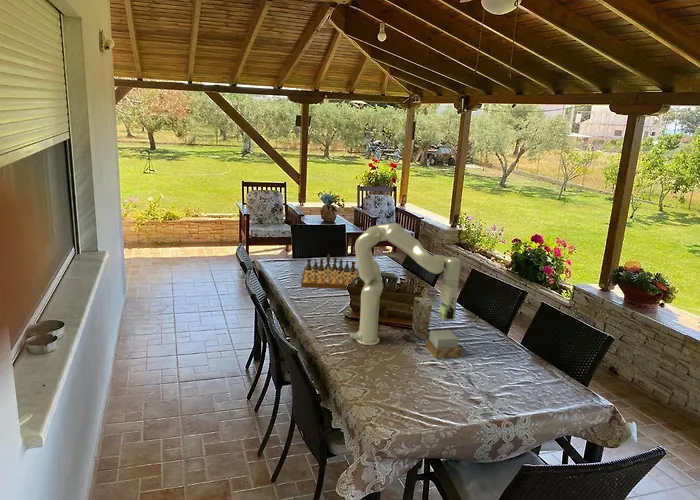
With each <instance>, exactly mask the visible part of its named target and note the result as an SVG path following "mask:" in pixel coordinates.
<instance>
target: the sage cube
mask: <svg viewBox="0 0 700 500" xmlns="http://www.w3.org/2000/svg"><path fill="white" fill-rule="evenodd" d="M450 305H452V304H450ZM451 307H452V306H450V308H451ZM456 310H457V307H456V308H455V310H454V314H453V318H452V319H447V311H448V306H446V305H445V304H443V305H441V304H439V310H438V311H439V312H438V317H440V318H441V319H442V320H443V321H453V320H456V312H457V311H456Z"/></svg>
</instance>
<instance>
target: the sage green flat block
mask: <svg viewBox="0 0 700 500" xmlns="http://www.w3.org/2000/svg"><path fill="white" fill-rule="evenodd" d="M428 339H429V340H430V341H431V342H432V344H433V345H434V346H435V347H436V348H437V349H445V348H458V345H459V341H460V340H459V339H460V338H459V337H458V336H457V335H456V334H454V333H453V332H452V331H451V329H440V330H429V336H428Z"/></svg>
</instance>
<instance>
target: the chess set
mask: <svg viewBox="0 0 700 500" xmlns="http://www.w3.org/2000/svg"><path fill="white" fill-rule="evenodd" d="M337 260H338V258H337V256H334V257H333V261H332V262H333V263H332V266H331V263H330V262H331V256H330V254H329V253H328V254H327V256H326V264H325V266H324V259H323V257H320V260H319V266H318V261H317V258H315V259H314V264H313V265H312V264H311V262H312V259H311V258H307V260H306V261H307V264H306V265H305V266H304V267H303V272H302V273H303V274H302V278H301V283H300V284H301V285H300V287H301V288H306V289H307V288H309V289H310V288H311V289H330V290H331V289H333V290H347V289H346V287H347V285H349V284H350V283H351V282H352V281H353V280H354V279H355V278H356V277H358V276H359V271H358V268H356V266H355V264H356V261H351V267H350V265H349V260H346V263H345V266H344V267H343V261H344V260H343V259H342V258H340V260H339V263H338V264H339V266H337V262H338V261H337ZM359 277H360V276H359Z"/></svg>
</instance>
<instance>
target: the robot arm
mask: <svg viewBox="0 0 700 500" xmlns="http://www.w3.org/2000/svg"><path fill="white" fill-rule="evenodd" d="M384 241H387V242H388V243H390V244H392V245H393V246H395V247H397V248H398V249H400V250H401V251H402V252H404V253H405V254H407V255H408V256H409V257H410V258H411V259H412V260H414V262H416V264H418V265H419V266H420V267H422V268H423V269H424V270H427V271H428V272H429V273H431V274H434V275H438V274H440V273H442V272H443V276H442V277H443V278H442V284H441V289H440V294H439V301H440V302H441V303H440V305H443V304H445V305H446V306H448V311H447V319H452V318H453V314H454V310H455V308H456V309H457V301H458V286H459V280H460V278H459V277H460V271H461V270H460V269H461V259H460V258H459V257H454V256H445V255H442V254H433V255H432V254H431V253H429V252H428V251H427V250H426V249H425V248H424V246H423V245H422V244H421V242H420V241H419V240H418V239H417V238H415V237H413V236H412V235H411V234H409V233H408V232H406V231H404V228H403V226H402V225H401V224H400V223H397V222H396V223H394V222H393V223H385V224H380V225H372V226H369V227H368V228H367V229H366V230H365V231H364V232H363V233H361V234H360V235H359V237H358V238H356V241H355V244H354V254H355V257H356V258H355V259H356V265H357V269H358V273H359V279H361V281H363V282H364V285H363V287H362V289H361V292H360V293H361V294H360V315H359V327H358V328H359V329H358V330H357V332H355V333H354V332H353V333H352V332H351V333H349V336H350V338H353V339H355V341H356V342H357V343H358V344H360V345H365V346H375V345H377V344H379V342H380V338H379V336H378V328H379V327H378V324H379V315H380V314H379V313H380V297H381V294H382V292H383V288H384V285H383V284H384V283H383V279H382V274H381V268H380V265H379V264H378V262H377V261H376V260H374V255H373V252H372V248H373V247H374V246H376V245H377V244H378V243H379V242H384ZM450 304H451V305H450ZM450 306H452V307H451V308H450Z"/></svg>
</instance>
